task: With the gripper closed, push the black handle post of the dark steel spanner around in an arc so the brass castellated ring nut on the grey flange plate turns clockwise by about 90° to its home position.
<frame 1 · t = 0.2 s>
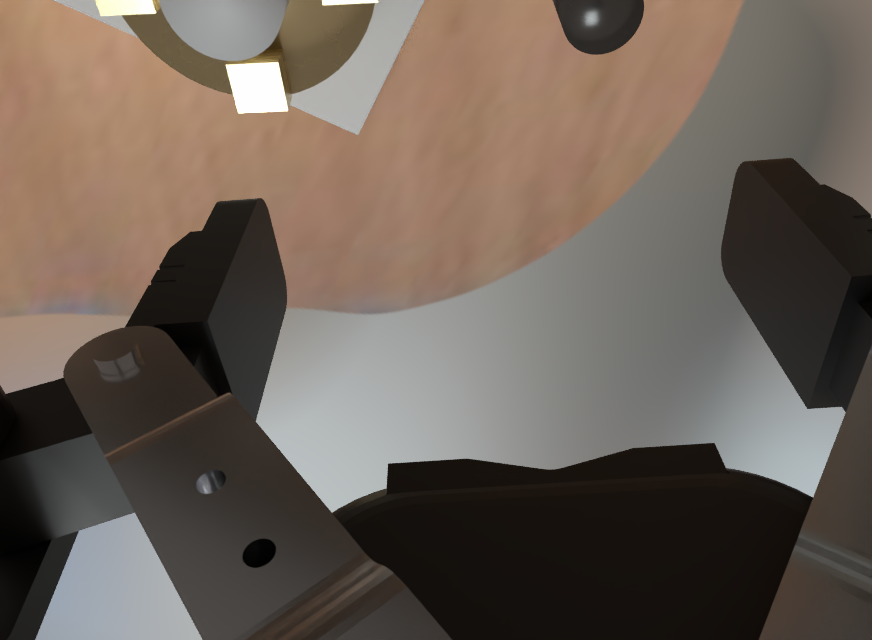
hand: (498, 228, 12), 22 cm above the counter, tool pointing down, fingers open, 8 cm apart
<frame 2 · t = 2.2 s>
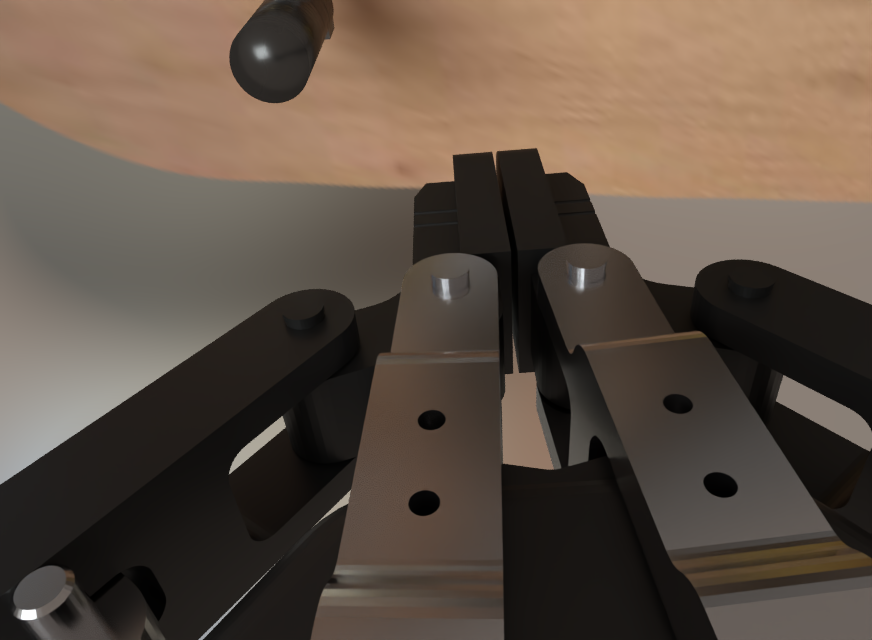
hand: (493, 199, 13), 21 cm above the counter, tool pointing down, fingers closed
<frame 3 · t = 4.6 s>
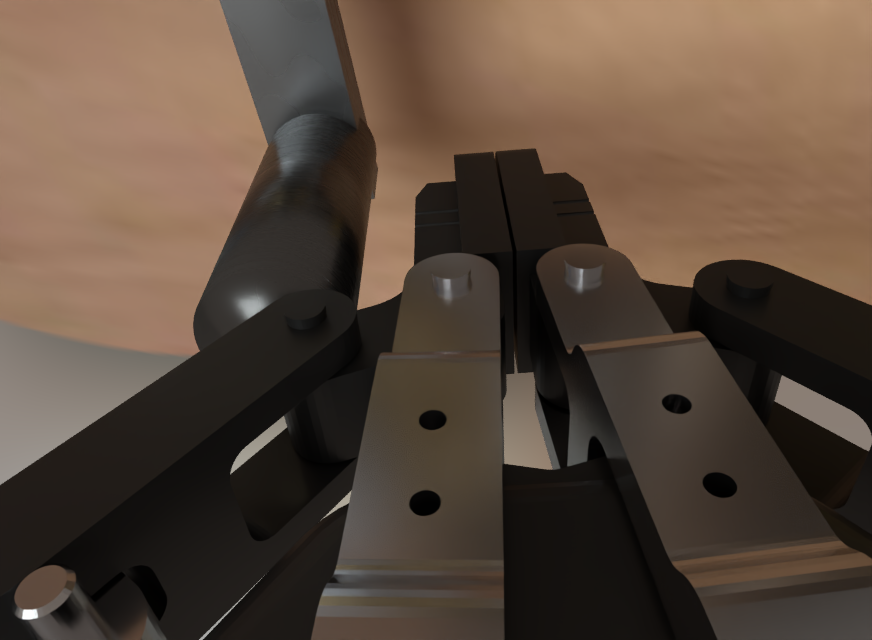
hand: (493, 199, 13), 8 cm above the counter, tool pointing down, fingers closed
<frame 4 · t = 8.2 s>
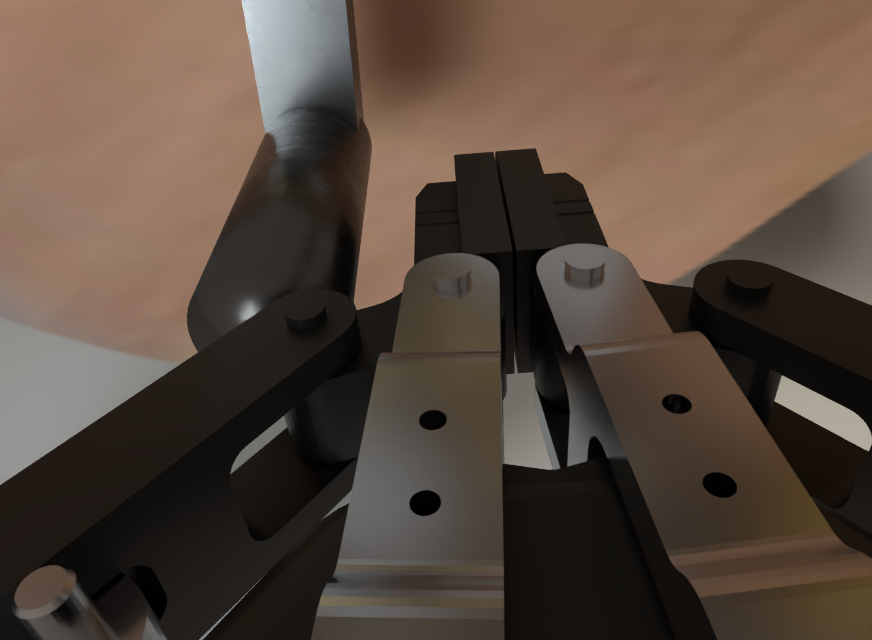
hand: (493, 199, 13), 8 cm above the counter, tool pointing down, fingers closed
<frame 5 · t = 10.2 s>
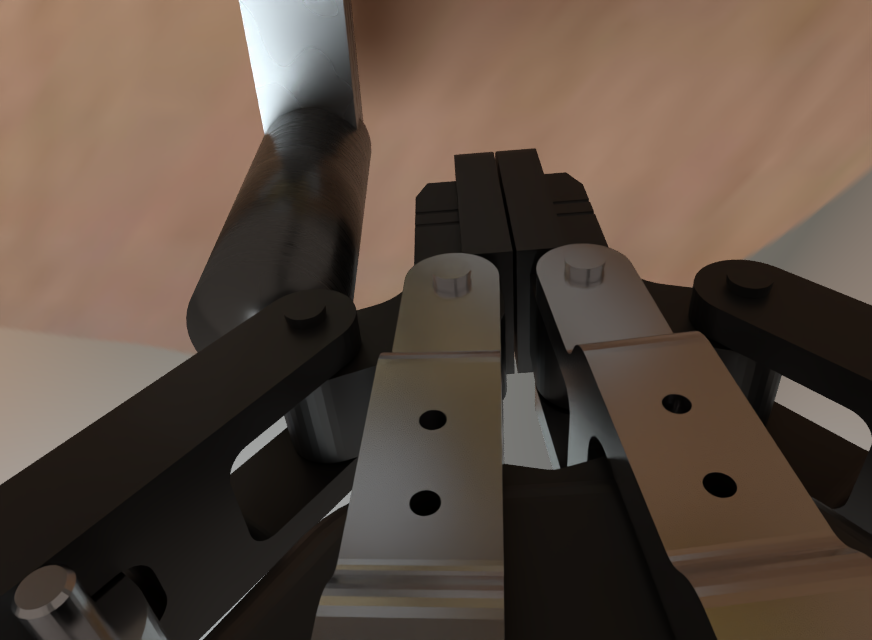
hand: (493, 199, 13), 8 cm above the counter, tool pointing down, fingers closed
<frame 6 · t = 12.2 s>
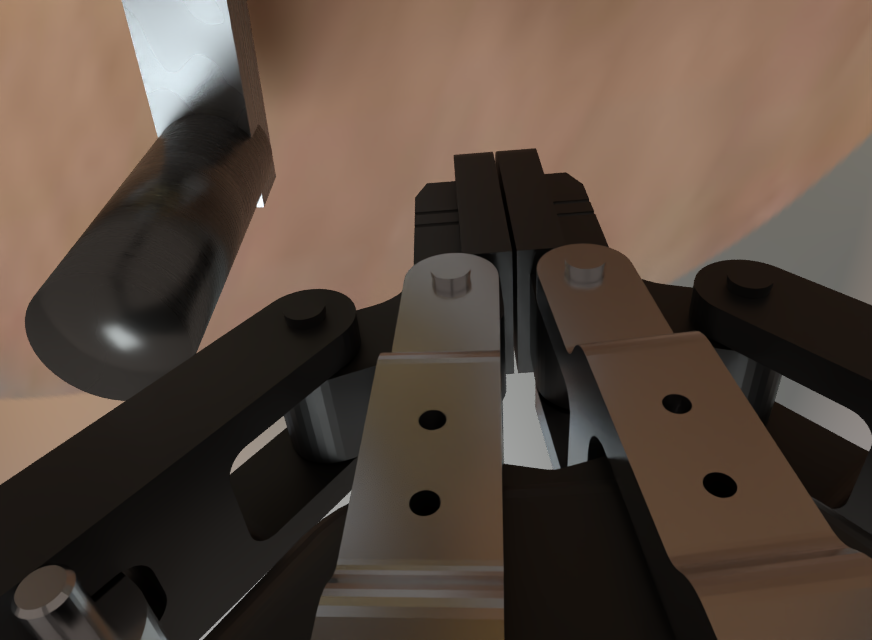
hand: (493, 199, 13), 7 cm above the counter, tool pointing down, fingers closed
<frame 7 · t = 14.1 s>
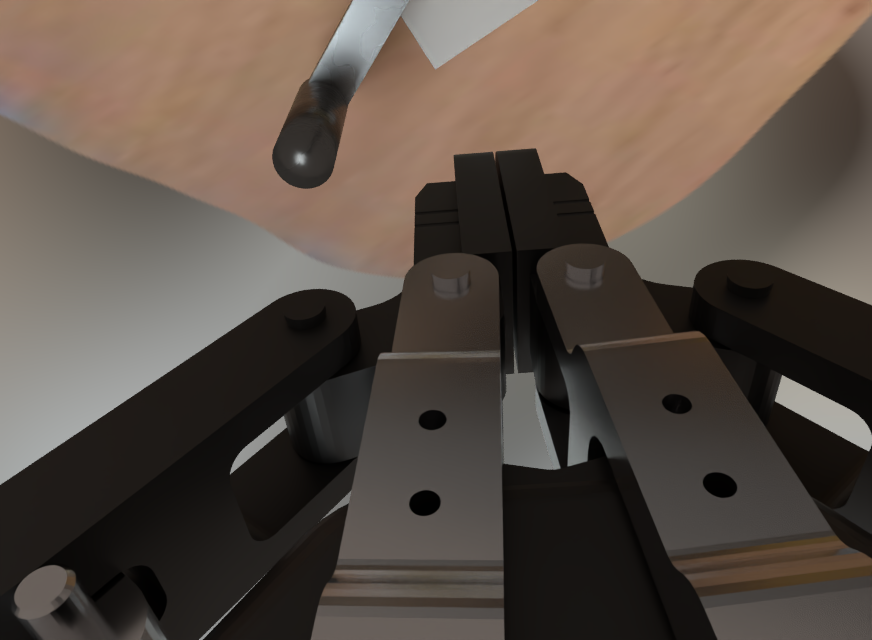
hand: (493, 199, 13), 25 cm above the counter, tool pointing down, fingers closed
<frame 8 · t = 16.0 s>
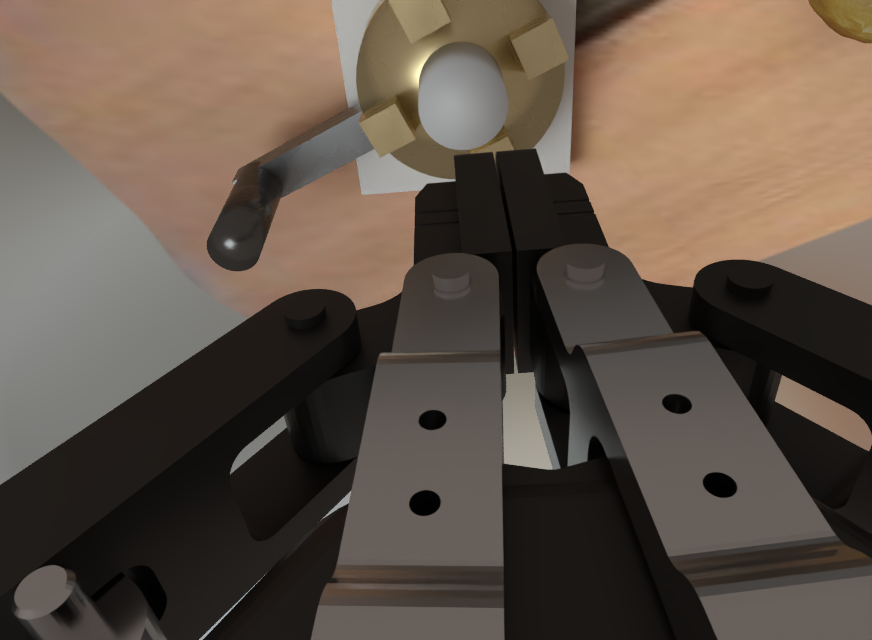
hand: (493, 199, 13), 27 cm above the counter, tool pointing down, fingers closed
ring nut: (385, 134, 33), point 7 cm above the counter, hinge at 96.4°
flange plate: (456, 52, 38), on the counter
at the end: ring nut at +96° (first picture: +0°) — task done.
